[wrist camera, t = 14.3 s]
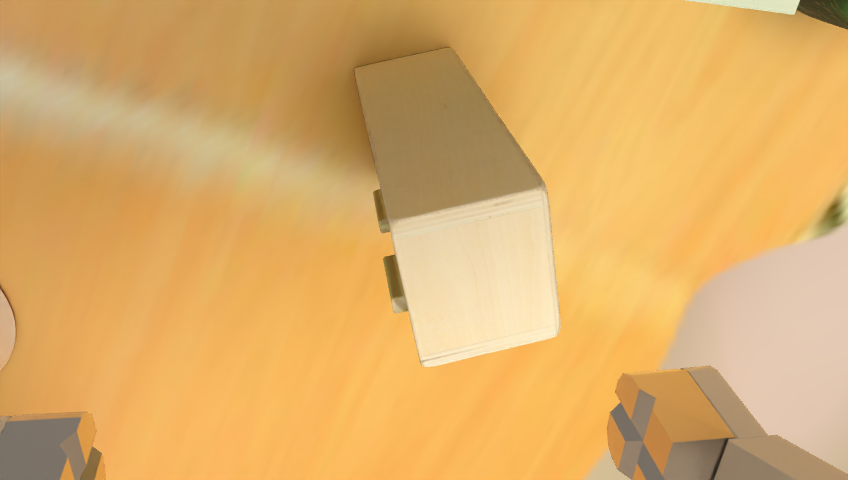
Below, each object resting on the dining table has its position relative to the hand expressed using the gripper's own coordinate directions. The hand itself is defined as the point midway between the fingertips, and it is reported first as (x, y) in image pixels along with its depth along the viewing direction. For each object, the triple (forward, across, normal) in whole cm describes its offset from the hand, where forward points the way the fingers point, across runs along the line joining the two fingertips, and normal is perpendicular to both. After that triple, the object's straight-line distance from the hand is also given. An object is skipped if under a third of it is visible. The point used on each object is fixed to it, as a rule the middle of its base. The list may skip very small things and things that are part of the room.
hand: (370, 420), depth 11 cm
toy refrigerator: (+37, -6, +9) cm, 39 cm away
